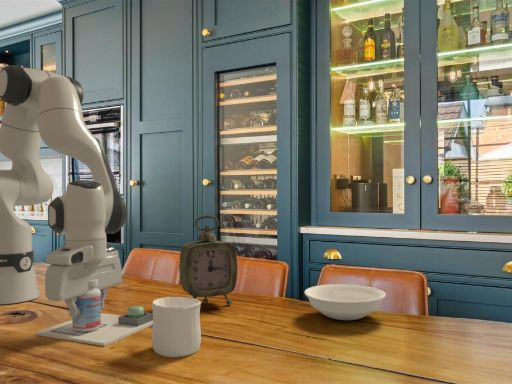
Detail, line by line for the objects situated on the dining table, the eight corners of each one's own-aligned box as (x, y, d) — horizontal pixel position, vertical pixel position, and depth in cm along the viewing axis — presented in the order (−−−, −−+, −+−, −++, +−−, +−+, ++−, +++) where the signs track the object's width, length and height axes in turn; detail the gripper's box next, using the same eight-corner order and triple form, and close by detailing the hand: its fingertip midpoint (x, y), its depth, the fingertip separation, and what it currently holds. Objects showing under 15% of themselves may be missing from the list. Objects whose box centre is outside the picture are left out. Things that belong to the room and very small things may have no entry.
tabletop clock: (186, 312, 120) (185, 217, 120) (178, 304, 128) (176, 215, 128) (237, 306, 126) (236, 215, 126) (226, 299, 134) (225, 214, 134)
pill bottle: (91, 333, 101) (91, 283, 101) (66, 331, 102) (67, 281, 102) (106, 325, 107) (106, 277, 107) (82, 323, 108) (82, 276, 108)
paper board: (35, 334, 103) (35, 331, 103) (94, 314, 119) (94, 311, 119) (104, 346, 95) (104, 342, 95) (157, 322, 111) (157, 319, 111)
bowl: (391, 311, 118) (391, 287, 118) (378, 334, 100) (377, 305, 100) (318, 304, 127) (317, 281, 127) (293, 324, 109) (292, 297, 109)
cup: (193, 359, 87) (192, 308, 87) (143, 357, 88) (142, 306, 88) (207, 343, 96) (206, 296, 96) (161, 341, 98) (161, 295, 98)
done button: (125, 318, 109) (125, 308, 109) (134, 315, 112) (134, 305, 112) (137, 320, 108) (137, 310, 108) (146, 316, 111) (146, 306, 111)
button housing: (118, 323, 109) (118, 317, 109) (134, 317, 114) (134, 311, 114) (138, 326, 106) (138, 319, 106) (153, 319, 111) (153, 313, 111)
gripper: (107, 245, 115) (108, 300, 115) (39, 257, 97) (40, 322, 97) (127, 246, 113) (128, 302, 113) (61, 258, 94) (62, 325, 94)
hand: (87, 312), depth 104 cm, fingers closed on pill bottle, 6 cm apart
